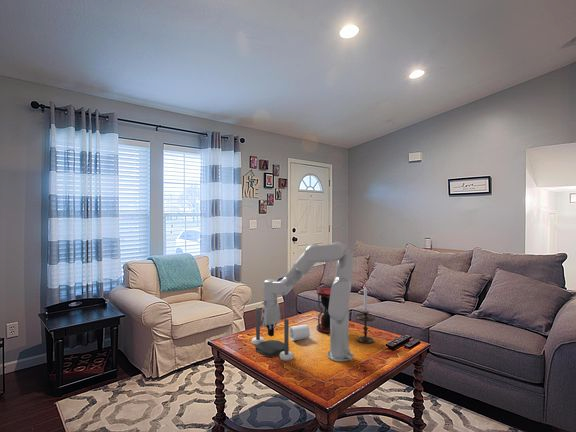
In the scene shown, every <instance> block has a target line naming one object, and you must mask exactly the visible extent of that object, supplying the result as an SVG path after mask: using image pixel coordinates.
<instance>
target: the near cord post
mask: <svg viewBox="0 0 576 432" xmlns="http://www.w3.org/2000/svg"><path fill="white" fill-rule="evenodd" d="M283 320H284V322H283V327H284V328H283V329H284V331H283V333H284V335H283V336H284V341H283V343H284V351H283V352H281V353H280V354H279V359H280V360H281V361H285V362H289V361H291V360H293V359H294V353H293V352H292V351H289V348H290V347H289V345H290V344H289V339H290V335H289V329H290V327H289V325H290V324H289V319H288V318H285V319H283Z"/></svg>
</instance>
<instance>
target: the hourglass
mask: <svg viewBox="0 0 576 432" xmlns="http://www.w3.org/2000/svg"><path fill="white" fill-rule="evenodd" d="M330 293H331V287H321V288H318V289H316V295H317V306H318V308H319V310H320V311H319V314H318V316H317V325H316V331H317V332H319V333H321V334H325V335H330V315H329V312H328V307H329V300H330ZM320 302H321V303H320ZM320 304H321V305H323V307H324V311H323V308H322V307H321V305H320Z"/></svg>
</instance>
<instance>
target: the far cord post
mask: <svg viewBox="0 0 576 432" xmlns="http://www.w3.org/2000/svg"><path fill="white" fill-rule="evenodd" d="M260 313H261V312H260V307H256V308H255V336H254V337H252V338H251V344H253V345H255V346H256V345H257V344H259V343H261V342H264V341H265V338H264V337H263V336H261V327H260V326H261V325H260V324H261V322H260V321H261V315H260Z"/></svg>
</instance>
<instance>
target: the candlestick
mask: <svg viewBox="0 0 576 432" xmlns="http://www.w3.org/2000/svg"><path fill="white" fill-rule="evenodd" d="M363 283H364V288H363V310H362V311H361V312H362V313H357V314H356V315H355V319H356V320H358V321H361V322H363V323H364V324H363V327H362V329H363V336H362V335H361V336H358V337H357V342H358V343H360V344H362V345H363V344H365V345H370V344H373V343H374V338H373V337H370V336H368V335H367V334H368V332H369V331H368V329H369V327H367V326H368V325H367V322H373V321H375V320H376V316H375V315H373V314H371V313H369V312H370V311H368V289H367V284H366V282H365V281H363Z"/></svg>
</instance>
